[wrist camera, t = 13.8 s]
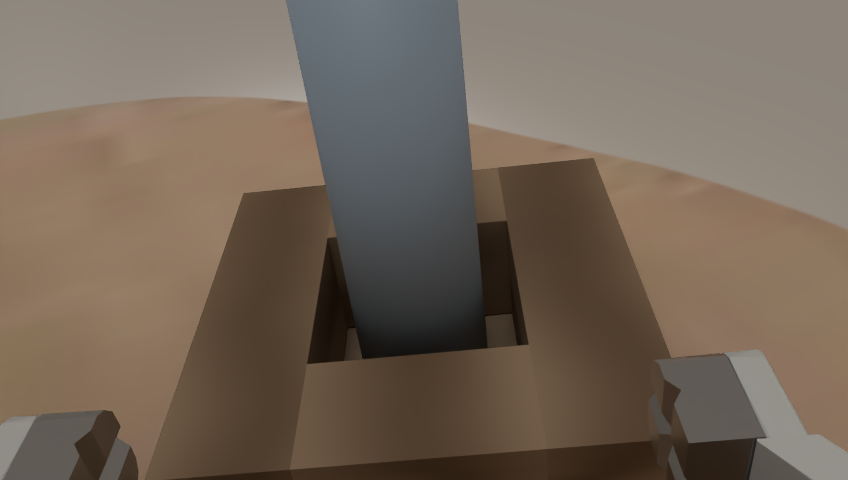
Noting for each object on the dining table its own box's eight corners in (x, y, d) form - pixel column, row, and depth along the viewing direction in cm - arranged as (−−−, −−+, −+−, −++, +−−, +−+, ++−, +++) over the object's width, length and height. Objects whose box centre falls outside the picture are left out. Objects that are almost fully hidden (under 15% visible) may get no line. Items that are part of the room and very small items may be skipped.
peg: (344, 387, 26) (241, -44, 18) (428, 323, 28) (369, -87, 20) (430, 448, 23) (355, -22, 15) (515, 373, 25) (487, -73, 17)
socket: (191, 577, 21) (144, 481, 18) (267, 277, 31) (243, 193, 29) (687, 540, 20) (701, 436, 18) (591, 246, 31) (593, 158, 28)
